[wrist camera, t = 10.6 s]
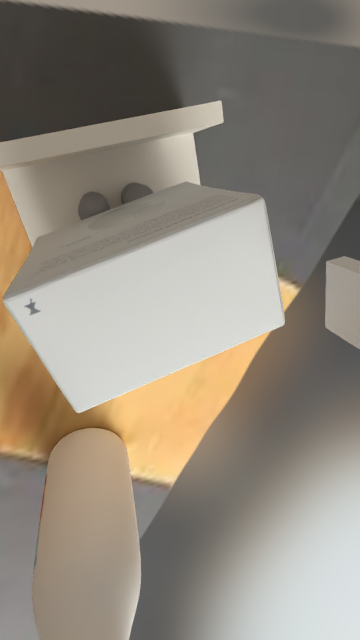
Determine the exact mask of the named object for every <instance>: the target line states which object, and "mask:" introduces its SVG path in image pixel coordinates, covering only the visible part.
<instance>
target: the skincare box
mask: <svg viewBox="0 0 360 640" xmlns="http://www.w3.org/2000/svg"><path fill="white" fill-rule="evenodd" d="M3 302H4V305H5V306H6V308H7V309H8V311H9V312H10V314H11V315H12V317H13V318H14V320H15V322H16V323H17V325H18V326H19V327H20V329H21V331H22V332H23V334H24V335H25V337H26V338H27V340H28V341H29V343H30V344H31V346H32V347H33V349H34V350H35V352H36V353H37V355H38V356H39V358H40V359H41V361H42V363H43V364H44V366H45V367H46V369H47V370H48V372H49V373H50V375H51V376H52V378H53V379H54V381H55V383H56V384H57V386H58V387H59V389H60V390H61V392H62V393H63V395H64V396H65V398H66V399H67V400H68V402H69V403H70V405H71V406H72V408H73V409H74V410H75V412H77V413H81V412H83V411H86V410H88V409H90V408H92V407H95V406H97V405H99V404H102V403H104V402H106V401H109V400H111V399H113V398H116V397H118V396H120V395H123V394H125V393H127V392H130V391H132V390H134V389H137V388H139V387H141V386H143V385H146V384H148V383H150V382H153V381H155V380H157V379H160V378H162V377H164V376H167V375H169V374H171V373H174V372H176V371H178V370H180V369H183V368H185V367H187V366H190V365H192V364H195V363H197V362H199V361H202V360H204V359H206V358H209V357H211V356H213V355H215V354H218V353H220V352H223V351H225V350H227V349H229V348H232V347H234V346H236V345H239V344H241V343H243V342H246V341H248V340H250V339H252V338H255V337H257V336H259V335H262V334H264V333H267V332H269V331H271V330H274V329H276V328H278V327H281V326H283V325H284V323H285V317H284V310H283V303H282V297H281V292H280V286H279V280H278V274H277V268H276V262H275V257H274V251H273V245H272V239H271V233H270V228H269V222H268V216H267V210H266V205H265V201H264V199H263V198H262V197H261V196H260V195H258V194H250V193H243V192H234V191H228V190H222V189H217V188H211V187H207V186H201V185H197V184H194V183H190V182H188V181H185V182H183V183H180V184H178V185H175V186H172V187H169V188H166V189H163V190H161V191H158V192H155V193H152V194H150V195H147V196H144V197H142V198H139V199H136V200H134V201H131V202H128V203H126V204H123V205H121V206H118V207H115V208H113V209H110V210H107V211H105V212H102V213H99V214H97V215H94V216H91V217H89V218H86V219H83V220H81V221H78V222H76V223H73V224H70V225H68V226H65V227H63V228H60V229H58V230H55V231H53V232H50V233H48V234H45V235H42V236H39V237H37V239H36V241H35V243H34V246H33V247H32V249H31V252H30V253H29V255H28V257H27V259H26V261H25V262H24V264H23V266H22V267H21V269H20V271H19V272H18V274H17V275H16V277H15V279H14V280H13V282H12V283H11V285H10V286H9V288H8V290H7V291H6V293H5V295H4V296H3Z"/></svg>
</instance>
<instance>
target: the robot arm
mask: <svg viewBox="0 0 360 640" xmlns="http://www.w3.org/2000/svg"><path fill="white" fill-rule="evenodd" d="M325 327H326V328H327V329H329V330H330V331H332V332H333V333H335V334H337V335H338V336H340V337H341V338H343V339H345V340H346V341H347V342H349V343H350V344H352V345H354V346H355V347H357V348H358V349H360V261H358V260H355V259H352V258H348V257H345V256H344V257H341V258H337V259H334V260H330V261H327V262H326V316H325Z"/></svg>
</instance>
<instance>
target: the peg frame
mask: <svg viewBox="0 0 360 640" xmlns="http://www.w3.org/2000/svg"><path fill="white" fill-rule="evenodd" d="M223 122H224V121H223V112H222V103H221V101H217V102H211V103H206V104H201V105H195V106H190V107H185V108H180V109H174V110H169V111H164V112H158V113H153V114H148V115H143V116H137V117H132V118H127V119H121V120H116V121H111V122H106V123H100V124H95V125H90V126H85V127H79V128H74V129H69V130H63V131H58V132H53V133H48V134H42V135H37V136H32V137H26V138H21V139H16V140H11V141H5V142H0V171H2V172H3V175H4V177H5V180H6V182H7V185H8V187H9V190H10V192H11V195H12V197H13V200H14V203H15V205H16V208H17V210H18V213H19V215H20V218H21V220H22V223H23V225H24V228H25V230H26V233H27V236H28V238H29V241H30V243H31V246H32V247H33V246H34V243H35V241H36V239H37V237H39V236H42V235H45V234H48V233H50V232H53V231H55V230H58V229H60V228H63V227H65V226H68V225H70V224H73V223H76V222H78V221H81V220H83V219H86V218H89V217H91V216H94V215H97V214H99V213H102V212H105V211H107V210H110V209H113V208H115V207H118V206H121V205H123V204H126V203H128V202H131V201H134V200H136V199H139V198H142V197H144V196H147V195H150V194H152V193H155V192H158V191H161V190H163V189H166V188H169V187H172V186H175V185H178V184H180V183H183V182H185V181H188V182H190V183H194V184H197V185H200V178H199V171H198V164H197V158H196V151H195V144H194V137H193V133H194V132H197V131H200V130H203V129H206V128H209V127H212V126H214V125H217V124H220V123H223ZM246 342H247V341H246Z"/></svg>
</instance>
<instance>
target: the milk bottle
mask: <svg viewBox="0 0 360 640" xmlns="http://www.w3.org/2000/svg"><path fill="white" fill-rule="evenodd" d="M140 582H141V560H140V548H139V537H138V529H137V521H136V513H135V505H134V497H133V489H132V482H131V474H130V467H129V459H128V453H127V448H126V446H125V444H124V442H123V441H122V440H121V439H120V437H119V436H117V435H116V434H115V433H113V432H111V431H109V430H106V429H102V428H85V429H80V430H77V431H74V432H72V433H70V434H68V435H66V436H65V437H63V438H62V439H61V440H60V441H59V442H58V443H57V444H56V445H55V447H54V448H53V450H52V451H51V453H50V456H49V461H48V467H47V473H46V480H45V487H44V494H43V501H42V508H41V515H40V523H39V530H38V538H37V546H36V553H35V562H34V572H33V582H32V602H33V612H34V618H35V623H36V627H37V631H38V634H39V637H40V640H129V636H130V631H131V627H132V623H133V619H134V615H135V611H136V607H137V603H138V598H139V591H140Z"/></svg>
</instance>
